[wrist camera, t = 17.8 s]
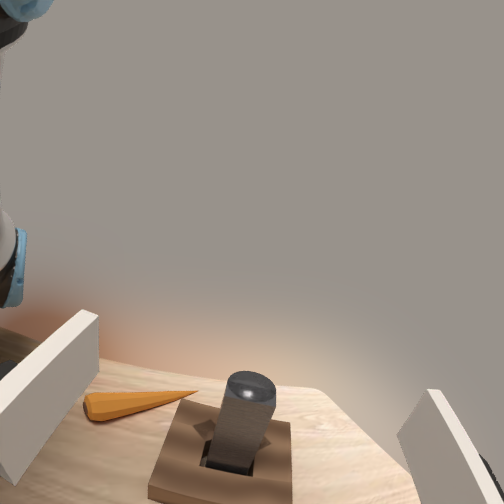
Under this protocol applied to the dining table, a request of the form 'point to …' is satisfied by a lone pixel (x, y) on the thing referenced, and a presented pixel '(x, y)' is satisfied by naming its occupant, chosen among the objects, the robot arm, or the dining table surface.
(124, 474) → the dining table surface
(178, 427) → the socket block
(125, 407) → the carrot
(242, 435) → the d peg
